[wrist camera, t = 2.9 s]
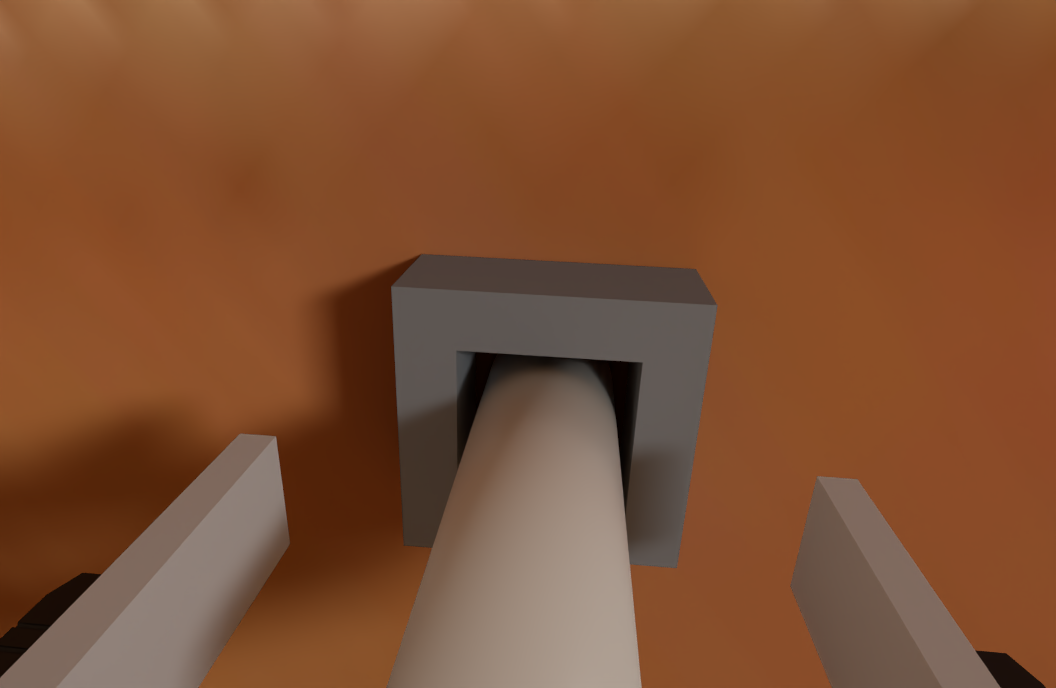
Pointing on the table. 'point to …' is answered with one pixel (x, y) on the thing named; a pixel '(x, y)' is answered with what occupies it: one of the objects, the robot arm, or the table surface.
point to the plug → (530, 543)
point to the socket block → (556, 331)
